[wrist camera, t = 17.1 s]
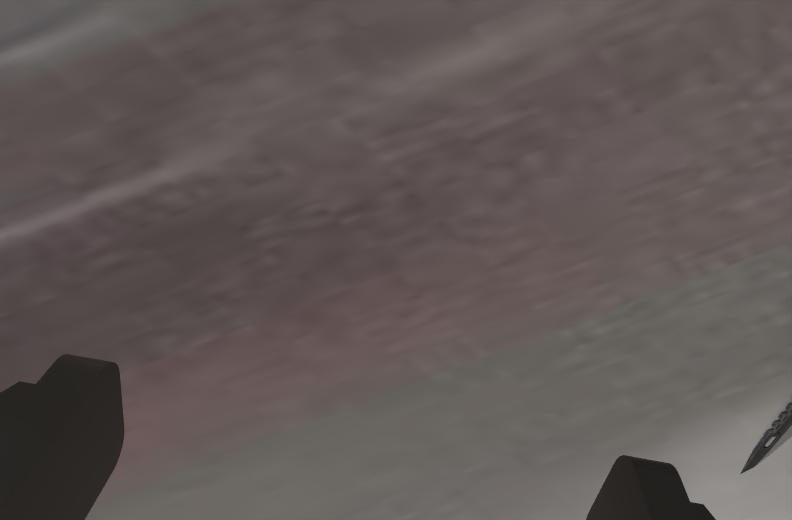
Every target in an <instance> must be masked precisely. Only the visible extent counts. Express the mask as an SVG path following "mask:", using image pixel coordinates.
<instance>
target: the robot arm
mask: <svg viewBox="0 0 792 520" xmlns="http://www.w3.org/2000/svg"><path fill="white" fill-rule="evenodd" d="M123 439H124V420H123V408H122V396H121V383H120V372H119V368H118V365H117V364H116V363H114V362H108V361H103V360H97V359H92V358H86V357H80V356H75V355H69V354H65V355H62V356H61V357H59V358H58V359H57V360H56V361H55V362H54V363H53V364H52V366H51V367H50V368H49V369H48V370H47V372H46V373H45V374H44V375H43V376H42V377H41V379H40V380H39V381H38V382H37V383H36V384H31V383H25V382H20V381H19V382H18V383H16V384H14V385H13V386H11V387H10V388H8V389H6V390H5V391H3V392H1V393H0V520H85V518H86V516H87V515H88V513H89V511H90V509H91V508H92V506H93V504H94V503H95V501H96V499H97V497H98V496H99V494H100V492H101V491H102V489H103V487H104V485H105V484H106V482H107V480H108V479H109V477H110V475H111V473H112V472H113V470H114V468H115V466H116V464H117V461H118V459H119V456H120V453H121V449H122V445H123ZM586 520H716V519H715V518H714V517H713V516H712V514H711V513H710V512H709V511H708V510H707V508H706V507H705V506H704V505H703V504H698V503H692V502H690V501H689V498H688V496H687V493H686V491H685V488H684V486H683V483H682V481H681V478H680V476H679V474H678V471H677V470H676V468H675V467H674V466H673V465H671V464H670V463H664V462H659V461H653V460H647V459H642V458H636V457H631V456H625V455H622V456H620V457H619V458H618V459H617V460H616V461H615V463H614V465H613V467H612V469H611V471H610V473H609V474H608V476H607V478H606V480H605V482H604V484H603V486H602V488H601V490H600V492H599V494H598V496H597V498H596V500H595V501H594V503H593V505H592V507H591V509H590V511H589V513H588V516H587V519H586Z"/></svg>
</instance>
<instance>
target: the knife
mask: <svg viewBox="0 0 792 520" xmlns="http://www.w3.org/2000/svg"><path fill="white" fill-rule="evenodd" d="M772 427H773V428H772V429H768V430H767V431H766V433H765V434H764V436H763V437H762V439H761V440H760V441H759V443H758V444H757V446H756V447H755V448H754V450H753V451H752V453H751V455H750V457H749V459H748V461H747V463H746V465H745V466H744V468H743V470H742V472H741V473H743V472H745V471H747V470H749V469H751V468H753V467H755V466H756V465H757V464H759V463H760V462H761V461H763V460H764V459H765V458H766V457H767V456H769V455H770V454H771V453H772V452H774V451H775V450H776V449H777V448H778V447H780V446H781V445H782V444H783V443H784V442H786V441H787V440H788V439H789V438H790V437H792V403H789V404H788V405H787V407H786V411H784V412H782V413H781V414H780V415H779V420H776V421H774V422H773V424H772ZM772 437H776V438H775V439H774V440H773V442H772V443H771V444H770V446H768V447H764V445H765V444H766V443H767V442H768V441H769V439H770V438H772Z"/></svg>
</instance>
